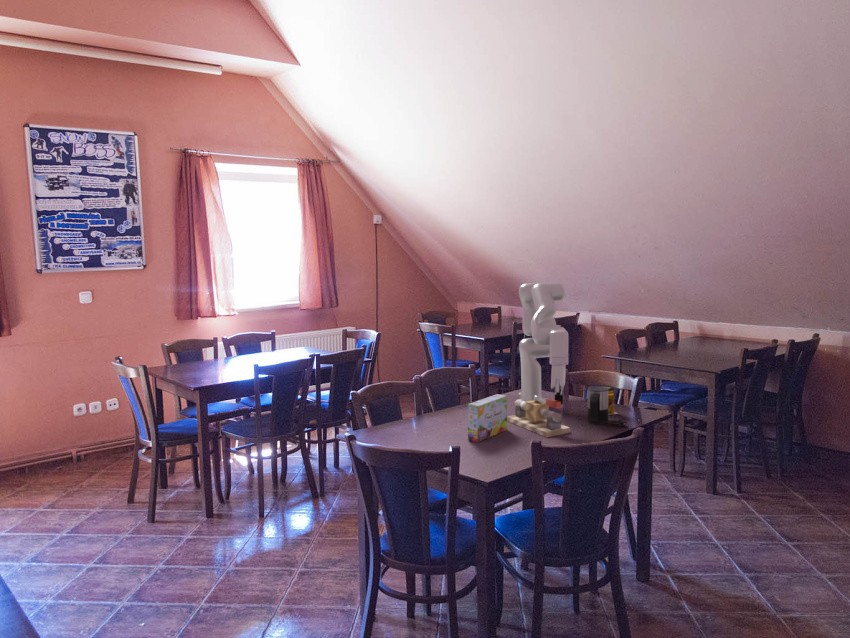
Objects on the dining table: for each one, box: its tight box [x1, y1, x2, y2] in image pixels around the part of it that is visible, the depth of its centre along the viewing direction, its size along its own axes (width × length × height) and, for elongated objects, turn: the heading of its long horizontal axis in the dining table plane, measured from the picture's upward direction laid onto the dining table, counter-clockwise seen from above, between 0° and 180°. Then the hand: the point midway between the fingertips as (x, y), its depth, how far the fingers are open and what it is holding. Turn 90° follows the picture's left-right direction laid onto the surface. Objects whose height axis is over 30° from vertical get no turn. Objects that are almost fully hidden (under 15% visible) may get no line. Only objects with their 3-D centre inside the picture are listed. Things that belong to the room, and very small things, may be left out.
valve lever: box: [534, 395, 562, 410], centre depth 264 cm, size 14×3×3 cm, turn 31°
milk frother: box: [586, 385, 627, 426], centre depth 271 cm, size 14×16×15 cm
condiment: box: [602, 385, 619, 416], centre depth 288 cm, size 7×8×12 cm
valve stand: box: [507, 398, 571, 438], centre depth 270 cm, size 28×12×10 cm, turn 27°
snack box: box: [467, 393, 508, 443], centre depth 260 cm, size 21×6×15 cm, turn 140°
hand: (558, 403), depth 262 cm, fingers closed
